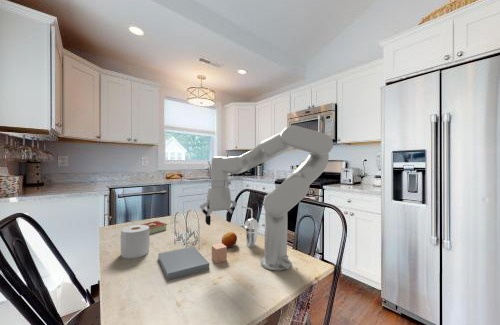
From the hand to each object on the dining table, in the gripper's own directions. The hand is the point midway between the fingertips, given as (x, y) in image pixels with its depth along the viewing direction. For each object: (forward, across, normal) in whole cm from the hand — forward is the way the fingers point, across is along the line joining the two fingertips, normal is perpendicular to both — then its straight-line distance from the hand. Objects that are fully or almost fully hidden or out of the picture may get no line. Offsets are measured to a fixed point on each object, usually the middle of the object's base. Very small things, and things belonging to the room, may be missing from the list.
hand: (218, 223), depth 97 cm
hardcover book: (+18, +22, -56) cm, 63 cm away
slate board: (+16, +14, -4) cm, 22 cm away
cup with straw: (+16, -22, -7) cm, 28 cm away
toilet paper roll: (+17, +30, -26) cm, 43 cm away
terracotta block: (+16, 0, 0) cm, 16 cm away
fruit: (+16, -12, -12) cm, 23 cm away
